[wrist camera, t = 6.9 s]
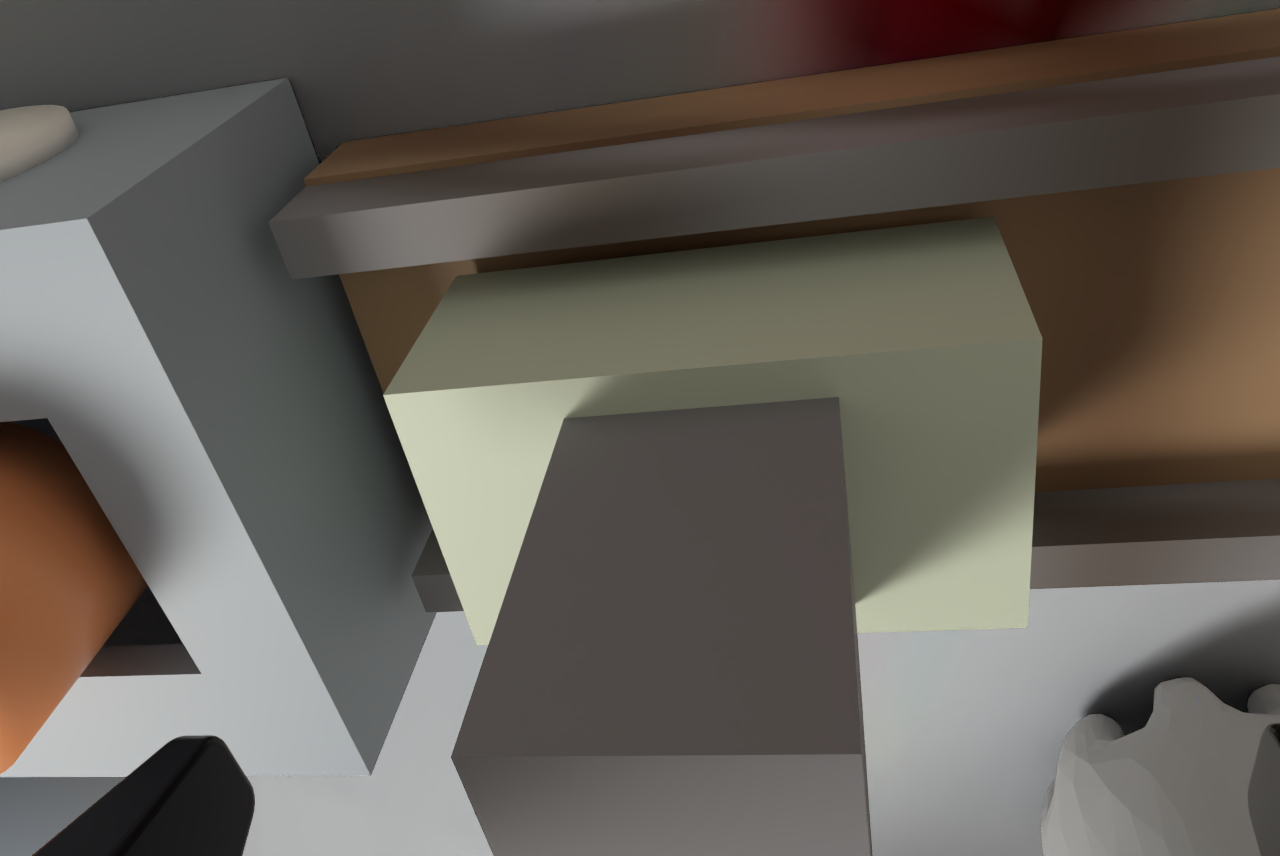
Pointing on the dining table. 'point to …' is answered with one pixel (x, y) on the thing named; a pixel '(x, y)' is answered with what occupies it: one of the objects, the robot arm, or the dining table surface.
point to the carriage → (716, 521)
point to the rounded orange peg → (51, 582)
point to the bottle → (1160, 779)
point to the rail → (913, 195)
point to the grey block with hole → (208, 436)
